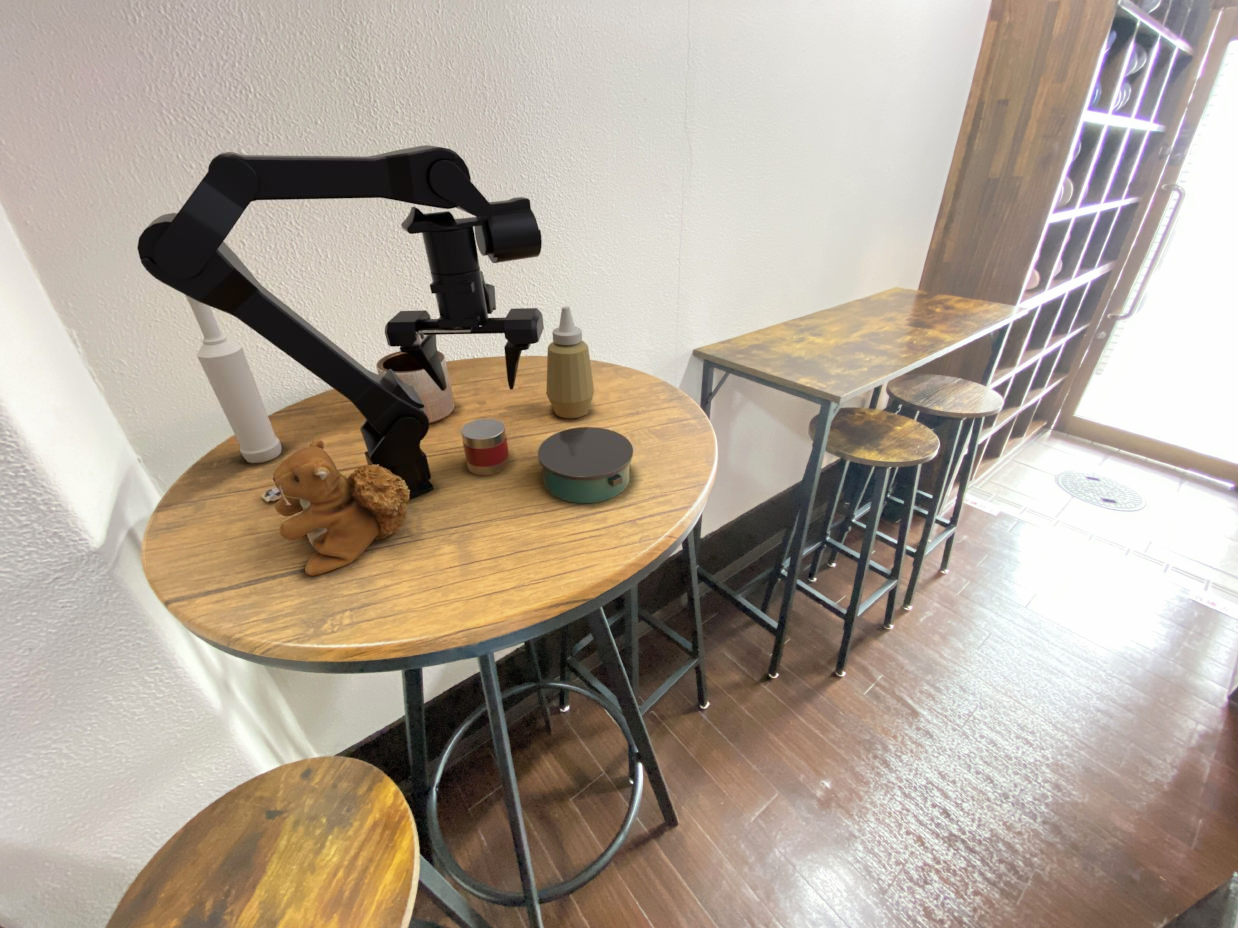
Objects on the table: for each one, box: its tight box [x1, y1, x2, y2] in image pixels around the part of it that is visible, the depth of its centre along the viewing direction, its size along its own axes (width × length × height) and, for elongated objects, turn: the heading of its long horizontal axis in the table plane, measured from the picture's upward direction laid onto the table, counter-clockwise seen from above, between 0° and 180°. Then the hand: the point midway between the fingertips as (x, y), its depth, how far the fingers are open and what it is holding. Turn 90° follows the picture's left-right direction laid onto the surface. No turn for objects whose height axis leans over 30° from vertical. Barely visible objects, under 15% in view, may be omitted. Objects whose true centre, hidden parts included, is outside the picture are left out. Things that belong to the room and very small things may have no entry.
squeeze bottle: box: [545, 306, 595, 419], centre depth 87 cm, size 8×8×18 cm
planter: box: [375, 350, 455, 425], centre depth 89 cm, size 11×11×10 cm
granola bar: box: [260, 486, 282, 502], centre depth 72 cm, size 7×2×1 cm, turn 140°
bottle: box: [185, 295, 283, 464], centre depth 74 cm, size 5×5×25 cm
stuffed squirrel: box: [272, 438, 410, 577], centre depth 61 cm, size 10×14×13 cm
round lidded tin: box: [537, 426, 634, 504], centre depth 74 cm, size 13×14×5 cm
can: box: [460, 418, 510, 476], centre depth 77 cm, size 6×6×6 cm
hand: (478, 388), depth 72 cm, fingers open, 9 cm apart
